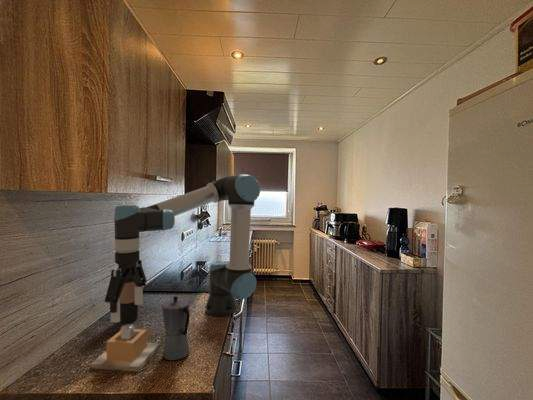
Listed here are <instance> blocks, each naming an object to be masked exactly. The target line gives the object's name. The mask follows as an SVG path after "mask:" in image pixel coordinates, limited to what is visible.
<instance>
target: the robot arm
mask: <svg viewBox="0 0 533 400" xmlns="http://www.w3.org/2000/svg"><path fill="white" fill-rule="evenodd" d="M260 193H261V186H260V182H259V181H258V180H257V178H256V177H254V176H253V175H250V174H241V173H240V174H235V175H232V174H231V175H226V176H224V177H221V178H218V179H217V180H213V181H212V182H209V183H206V186H204V187H201V188H198V189H195V190H192V191H189V192H186V193H184V194H179V195H178V196H174V197H172V198H171V197H170V198H169V199H166V200H164V201H160V202H157V203H155V204H152V205H148V206H145V207H142V206H141V207H140V206H139V205H138V204H120V205H119V204H118V205H117V206H115V208H114V217H113V223H114V250H115V252H114V263H115V264H117V265H118V266H117V269H112V270H111V271H110V272H111V273H110V280H109V283H108V287H107V291H106V294H105V297H104V303H109V312H110V313H109V314H110V323H121V322H120V301H119V297H120V294H121V292H122V289H123V287H124V284H125V282H127V280H128V279H129V278H130V277H131V279H132V280H133V281H134V283H135V284H136V286H135V305H138V306H142V305H144V292H143V291H144V288H143V287H146V285H147V278H146V274H145V272H144V269H143V262H142V260H140V251H139V249H141V248H140V233H142V232H143V233H144V232H155V231H167V230H172V229H173V228H174V226H175V222H176V220H175V217H177V216H179V215H181V214H184V213H187V212H189V211H192V210H194V209H197V208H200V207H203V206H206V205H207V204H210V203H213V204H214V203H215V204H216V203H219V202H223V201H227V202H228V206H229V207H230V209H231V210H230V211H231V212H230V215H231V216H230V234H229V235H230V237H229V238H230V239H229V259H228V261H225V260H224V261H217V262H213V263H211V264H210V265H209V271H208V272H209V277H208V278H209V281H208V282H209V283H208V284H209V289H208V290H209V292H208V293H209V294H208V298H207V301H206V304H205V313H206V314H207V315H209V316H213V317H226V316H230V315H233V314H235V313H236V312H237V311H238V304H237V303H238V302H237V300H236V299H238V300H245V299H248V298H249V297H250V296H251V295H252V294H253V293H254V291H256V288H257V278H256V276H255V275H254V274H253V266H252V265H251V263H250V237H251V236H250V235H251V214H252V213H251V210H252V208H253V207H254V206H255V201H256V200H257V199H258V198H259V196H260ZM120 277H121V278H120Z"/></svg>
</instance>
